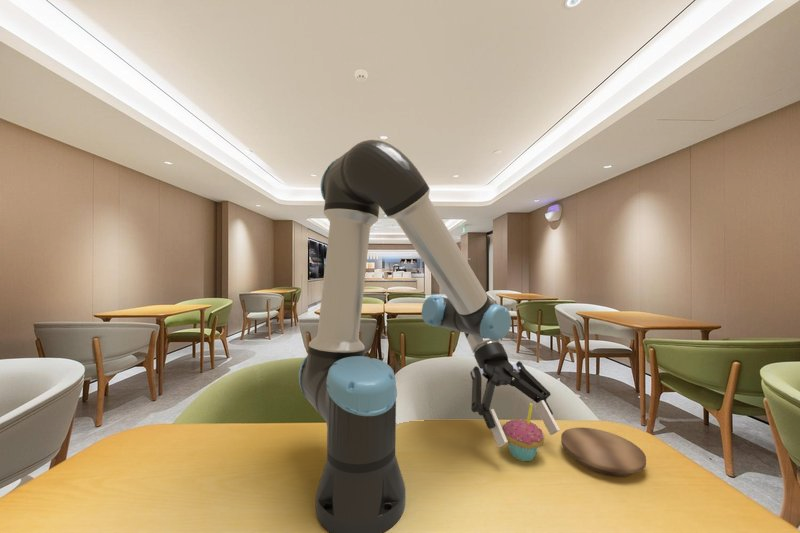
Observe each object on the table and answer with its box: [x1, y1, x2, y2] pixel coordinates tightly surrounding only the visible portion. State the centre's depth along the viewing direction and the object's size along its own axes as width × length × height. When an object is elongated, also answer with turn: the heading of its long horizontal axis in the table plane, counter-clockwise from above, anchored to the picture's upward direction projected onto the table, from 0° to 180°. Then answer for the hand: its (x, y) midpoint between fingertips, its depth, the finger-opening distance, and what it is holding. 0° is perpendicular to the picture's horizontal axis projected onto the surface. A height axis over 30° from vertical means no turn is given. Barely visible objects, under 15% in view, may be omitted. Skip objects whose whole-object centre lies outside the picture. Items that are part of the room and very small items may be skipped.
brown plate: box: [560, 427, 647, 478], centre depth 67 cm, size 15×15×3 cm
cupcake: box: [501, 399, 545, 462], centre depth 68 cm, size 9×8×12 cm
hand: (530, 438), depth 66 cm, fingers open, 13 cm apart
